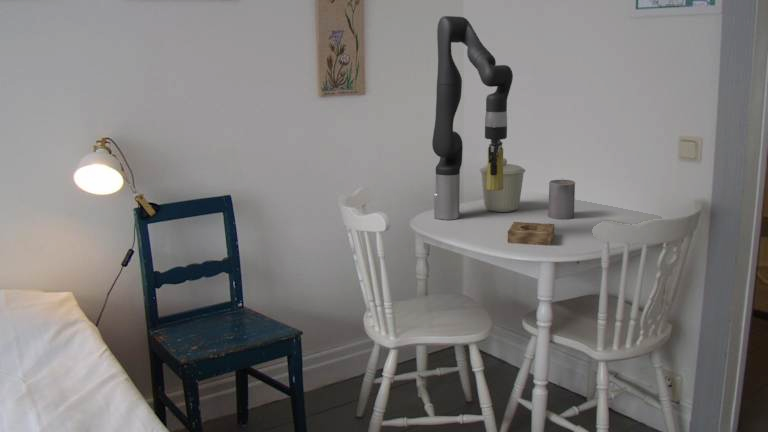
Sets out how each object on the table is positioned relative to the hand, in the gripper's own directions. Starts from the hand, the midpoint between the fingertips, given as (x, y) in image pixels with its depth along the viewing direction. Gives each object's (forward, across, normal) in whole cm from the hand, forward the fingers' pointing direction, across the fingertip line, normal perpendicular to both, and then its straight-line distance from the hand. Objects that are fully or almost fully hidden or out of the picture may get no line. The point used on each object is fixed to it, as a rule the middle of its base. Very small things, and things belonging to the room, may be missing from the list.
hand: (495, 173), depth 256 cm
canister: (+22, -39, -3) cm, 45 cm away
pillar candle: (+22, -32, +21) cm, 44 cm away
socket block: (+21, +5, +14) cm, 26 cm away
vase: (+6, 0, 0) cm, 6 cm away
